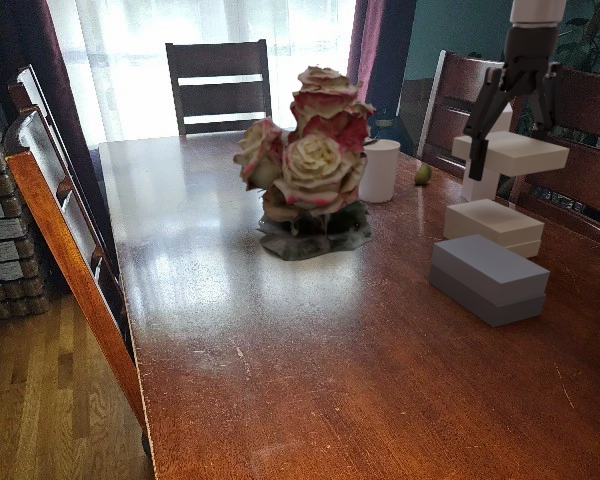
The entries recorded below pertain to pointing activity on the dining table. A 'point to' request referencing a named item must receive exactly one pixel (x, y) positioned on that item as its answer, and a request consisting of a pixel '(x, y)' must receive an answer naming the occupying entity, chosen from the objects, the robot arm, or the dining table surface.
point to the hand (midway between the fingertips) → (502, 174)
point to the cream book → (514, 153)
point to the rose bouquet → (311, 168)
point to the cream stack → (494, 226)
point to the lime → (423, 174)
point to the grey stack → (488, 279)
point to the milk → (489, 178)
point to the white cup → (379, 171)
